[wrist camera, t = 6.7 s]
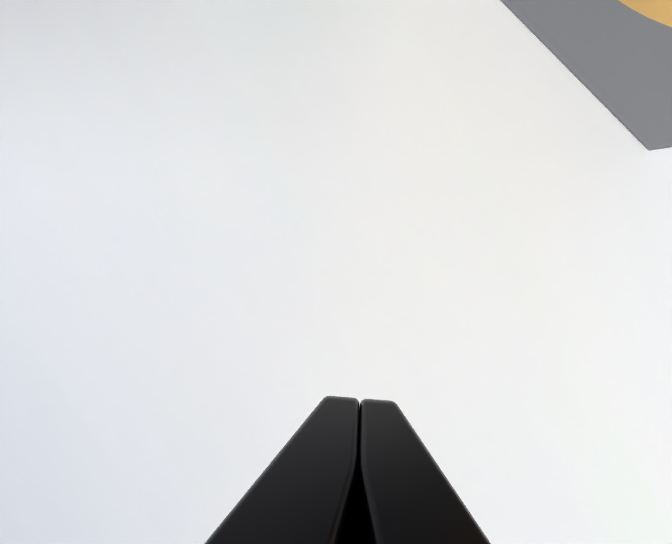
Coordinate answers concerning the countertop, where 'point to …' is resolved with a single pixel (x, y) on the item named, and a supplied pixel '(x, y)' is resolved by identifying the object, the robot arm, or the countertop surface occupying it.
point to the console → (611, 58)
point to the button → (653, 9)
